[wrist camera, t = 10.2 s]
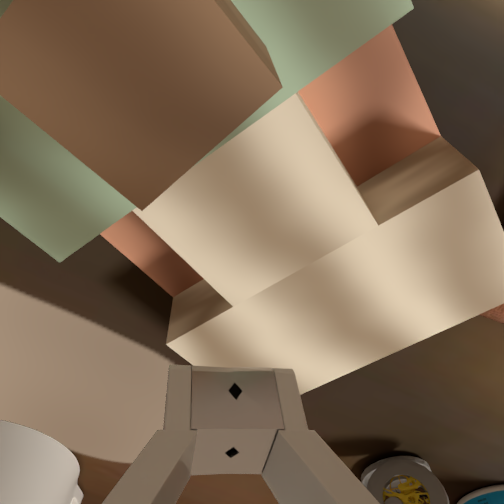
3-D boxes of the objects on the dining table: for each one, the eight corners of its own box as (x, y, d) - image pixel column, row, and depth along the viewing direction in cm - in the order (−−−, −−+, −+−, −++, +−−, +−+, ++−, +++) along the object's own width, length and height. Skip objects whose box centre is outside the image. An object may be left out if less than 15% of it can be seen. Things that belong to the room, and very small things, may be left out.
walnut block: (163, 142, 15) (141, 211, 11) (45, 30, 13) (-35, 66, 9) (266, 46, 14) (283, 87, 10) (150, -105, 11) (109, -133, 7)
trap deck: (253, 363, 30) (256, 414, 26) (-74, 78, 17) (-141, 108, 14) (488, 246, 24) (528, 292, 21) (255, -279, 12) (265, -360, 9)
